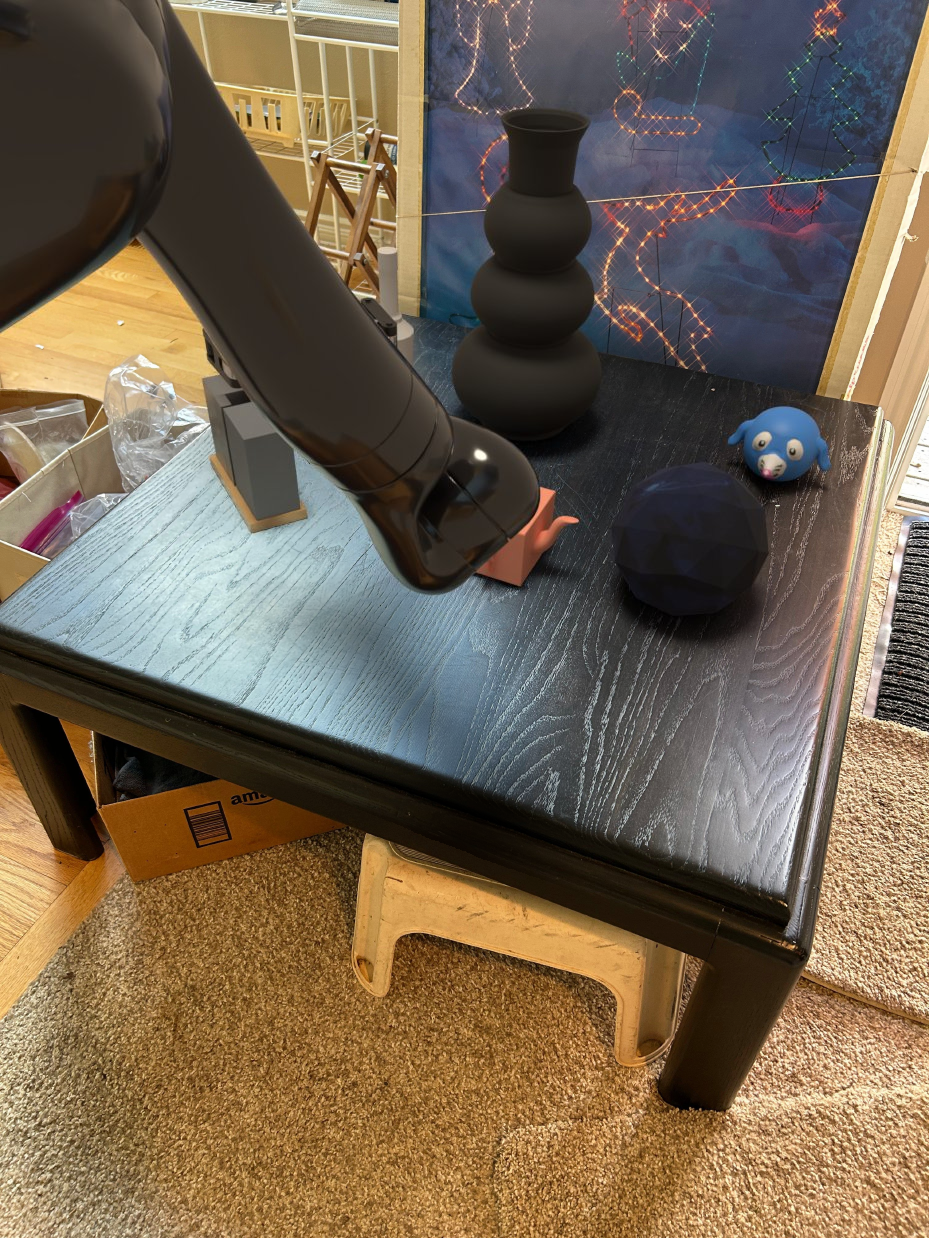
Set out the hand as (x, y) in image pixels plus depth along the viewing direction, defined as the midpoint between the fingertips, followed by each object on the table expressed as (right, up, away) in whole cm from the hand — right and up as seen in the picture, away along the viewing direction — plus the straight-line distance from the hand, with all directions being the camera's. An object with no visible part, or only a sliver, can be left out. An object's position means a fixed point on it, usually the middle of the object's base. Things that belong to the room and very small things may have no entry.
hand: (272, 304), depth 75 cm
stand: (-8, -11, +28) cm, 31 cm away
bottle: (+8, -7, +33) cm, 35 cm away
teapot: (+20, -20, +20) cm, 35 cm away
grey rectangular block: (-6, -13, +25) cm, 28 cm away
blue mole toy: (+52, -10, +32) cm, 62 cm away
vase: (+23, -1, +41) cm, 47 cm away
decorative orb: (+37, -24, +16) cm, 47 cm away
